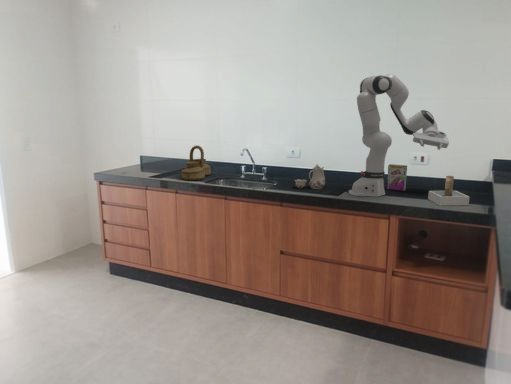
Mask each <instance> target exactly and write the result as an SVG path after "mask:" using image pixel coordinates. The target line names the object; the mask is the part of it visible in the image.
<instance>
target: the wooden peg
mask: <svg viewBox="0 0 511 384" xmlns="http://www.w3.org/2000/svg"><path fill="white" fill-rule="evenodd" d="M454 179H455V177H454V176H453V175H446V176H445V183H444V184H445V185H444V191H445V194H444V196H452V191H454V181H455V180H454Z"/></svg>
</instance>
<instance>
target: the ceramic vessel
mask: <svg viewBox="0 0 511 384" xmlns="http://www.w3.org/2000/svg"><path fill="white" fill-rule="evenodd" d="M195 149H197V150H199V152H200V158H194V151H195ZM206 161H207V158H205V152H204V149H203V147H201V146H200V145H193V146H192V148H190V150H189V161H187V162H185V165H186V167H181V168H180V169H181V179H183V180H185V181H197V180H202V179H204V178H206V176H210V175H211V173H212V171H211V165H209V164H208V163H206Z"/></svg>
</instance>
